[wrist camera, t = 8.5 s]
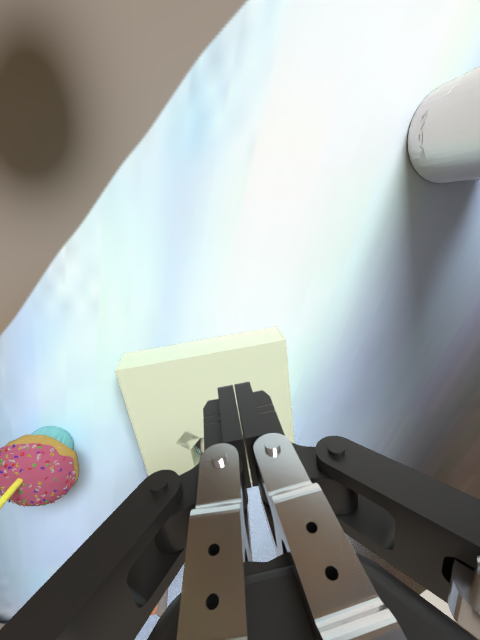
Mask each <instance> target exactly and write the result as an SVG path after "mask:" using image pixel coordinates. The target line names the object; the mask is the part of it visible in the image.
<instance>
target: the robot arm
mask: <svg viewBox="0 0 480 640" xmlns="http://www.w3.org/2000/svg"><path fill="white" fill-rule="evenodd" d="M408 152H409V157H410V161H411V163H412V165H413V167H414V169H415V170H416V171H417V173H418V174H419V175H420V176H422V177H423V178H424V179H426V180H428V181H431V182H434V183H447V182H456V181H465V180H476V179H480V66H479V67H477V68H475V69H473V70H471V71H469V72H467V73H465V74H463V75H461V76H459V77H457V78H455V79H453V80H451V81H449V82H447V83H445V84H443V85H441V86H440V87H438V88H436V89H435V90H433V91H432V92H431V93H430V94H429V95H428V96H427V97H426V98H425V99H424V100H423V102H422V103H421V104H420V106H419V107H418V109H417V111H416V113H415V115H414V117H413V119H412V122H411V125H410V128H409V135H408ZM234 387H235V393H236V399H237V404H236V399H235V393H234V388H233V385H228V386H223V387H218V388H217V389H218V399H214V400H209V401H207V403H206V405H205V406H204V408H203V418H204V419H203V423H204V452H203V454H202V455H201V458H200V462H199V463H198V464H197V465H196V466H195V467H194V468H192V469H191V470H189V471H187V472H185V473H183V474H181V475H178V474H177V473H176V472H175V471H172V470H160V471H157V472H154V473H153V474H151V475H149V476H148V477H147V478H146V479H145V480H144V481H143V482H142V483H141V484H140V485H139V486H138V487H137V488H136V489H135V490H134V491H133V492H132V493H131V494H130V495H129V496H128V497H127V498H126V499H125V501H124V502H123V503H122V504H121V505H120V506H119V507H118V508H117V509H116V510H115V511H114V512H113V513H112V514H111V515H110V516H109V517H108V518H107V519H106V520H105V521H104V522H103V523H102V524H101V526H100V527H99V528H98V529H97V530H96V531H95V532H94V533H93V534H92V535H91V536H90V537H89V538H88V539H87V540H86V541H85V542H84V543H83V544H82V545H81V546H80V547H79V548H78V549H77V550H76V552H75V553H74V554H73V555H72V556H71V557H70V558H69V559H68V560H67V561H66V562H65V563H64V564H63V565H62V566H61V567H60V568H59V569H58V570H57V571H56V572H55V573H54V574H53V575H52V576H51V578H50V579H49V580H48V581H47V582H46V583H45V584H44V585H43V586H42V587H41V588H40V589H39V590H38V591H37V592H36V593H35V594H34V595H33V596H32V597H31V598H30V599H29V600H28V601H27V603H26V604H25V605H24V606H23V607H22V608H21V609H20V610H19V611H18V612H17V613H16V614H15V615H14V616H13V617H12V618H11V619H10V620H9V621H8V622H7V623H6V624H5V625H4V626H3V627H2V629H1V630H0V640H134V639H135V638H136V636H137V634H138V633H139V631H140V630H141V628H142V627H143V625H144V624H145V622H146V621H147V619H148V618H149V616H150V615H151V613H152V612H153V610H154V608H155V607H156V605H157V604H158V602H159V601H160V599H161V598H162V596H163V595H164V593H165V592H166V590H167V589H168V587H169V586H170V584H171V582H172V581H173V579H174V578H175V576H176V575H177V573H178V572H179V570H180V569H181V567H182V566H183V564H184V563H185V564H184V574H183V583H182V592H181V593H180V594H179V595H178V596H177V597H176V598H175V599H174V600H173V601H172V603H171V604H170V605H169V606H168V607H167V609H166V610H165V611H164V613H163V614H162V616H161V617H160V619H159V620H158V622H157V624H156V625H155V627H154V629H153V631H152V632H151V634H150V636H149V637H148V639H147V640H480V500H479V499H477V498H475V497H473V496H471V495H468V494H466V493H464V492H462V491H460V490H457V489H455V488H453V487H451V486H449V485H447V484H444V483H442V482H440V481H438V480H436V479H433V478H431V477H429V476H427V475H425V474H422V473H420V472H418V471H416V470H414V469H411V468H409V467H407V466H405V465H403V464H401V463H398V462H396V461H394V460H392V459H390V458H387V457H385V456H383V455H381V454H379V453H376V452H374V451H372V450H370V449H368V448H365V447H363V446H361V445H359V444H357V443H355V442H352V441H350V440H348V439H346V438H343V437H339V436H328V437H325V438H323V439H321V440H320V441H319V442H318V443H317V445H316V447H305V446H299V445H296V444H294V443H292V442H291V441H290V440H289V439H288V438H287V437H286V436H285V434H284V432H283V429H282V426H281V424H280V421H279V419H278V416H277V413H276V411H275V408H274V405H273V403H272V400H271V398H270V396H269V395H268V394H267V393H266V392H265V391H263V390H261V391H256V392H253V391H252V388H251V385H250V382H244V383H239V384H234ZM237 405H238V409H237ZM238 411H239V414H238ZM239 417H240V419H239ZM240 422H241V424H240ZM241 428H242V429H241ZM242 433H243V435H242ZM243 438H244V440H243ZM244 443H245V446H244ZM245 448H246V452H245ZM246 453H247V458H248V463H249V468H250V474H251V479H252V484H253V487H254V486H259V490H260V495H261V502H262V507H263V510H264V514H265V517H266V520H267V524H268V527H269V530H270V534H271V537H272V540H273V544H274V547H275V550H276V554H277V557H276V558H275V559H273V560H271V561H269V562H253V561H252V549H251V537H250V525H249V513H248V506H247V504H248V495H247V489H246V488H250V487H251V482H250V476H249V470H248V464H247V458H246ZM345 533H346V534H347V535H349V536H350V537H351V538H353V539H354V540H356V541H357V542H359V543H360V544H362V545H363V546H365V547H366V548H368V549H369V550H370V551H372V552H373V553H375V554H376V555H378V556H379V557H381V558H382V559H384V560H385V561H387V562H388V563H390V564H391V565H392V566H394V567H395V568H397V569H398V570H400V571H401V572H403V573H404V574H406V575H407V576H409V577H410V578H411V579H413V580H414V581H416V582H417V583H419V584H420V585H422V586H423V587H425V588H426V589H428V590H429V591H431V592H432V593H433V594H435V595H436V596H438V597H439V598H441V599H442V600H444V601H445V602H447V603H448V605H449V608H450V611H451V613H452V615H453V617H454V619H455V620H456V622H457V623H456V622H455V621H453V620H452V619H451V618H449V617H448V616H447V615H445V614H444V613H443V612H441V611H440V610H438V609H437V608H436V607H435V606H433V605H432V604H431V603H429V602H428V601H426V600H425V599H424V598H423V597H421V596H420V595H419V594H417V593H416V592H415V591H413V590H412V589H410V588H409V587H408V586H406V585H405V584H404V583H402V582H401V581H400V580H398V579H397V578H396V577H394V576H393V575H392V574H390V573H389V572H388V571H386V570H385V569H384V568H382V567H381V566H379V565H378V564H377V563H375V562H373V561H372V560H370V559H368V558H366V557H364V556H362V555H360V554H357V553H355V551H354V549H353V548H352V546H351V544H350V542H349V540H348V538H347V536H346V534H345Z"/></svg>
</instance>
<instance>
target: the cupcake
mask: <svg viewBox="0 0 480 640" xmlns="http://www.w3.org/2000/svg"><path fill="white" fill-rule="evenodd" d="M78 475H79V465H78V459H77V454H76V452H75V451H74V450H73V439H72V437H71V435H70V434H69V433H68V432H67V431H66V430H64V429H62V428H59V427H55V426H46V427H42V428H40V429H38V430H36V431H35V432H34V433H32V434H31V435H24V436H22V437H20V438H18V439H16V440H13V441H11V442H9V443H8V444H7V445H6V446H4V447H2V448H0V495H1V498H0V509H1V507H2V506H3V505H4V504H5V503H6V502H7V501H9V503H10V501H11V502H12V503H16V504H18V505H23V506H24V507H25V506H40V505H46V504H49V503H53V502H54V501H55V500H57V499H59V498H61V497H62V496H64V495H65V494H66V493H67V492H68V491H69V490H70V488H71V487H72V486H73V485H74V484H75V483H76V481H77V479H78ZM54 503H55V502H54Z"/></svg>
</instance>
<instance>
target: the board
mask: <svg viewBox="0 0 480 640" xmlns="http://www.w3.org/2000/svg"><path fill="white" fill-rule="evenodd" d="M115 372H116V375H117V378H118V381H119V385H120V388H121V391H122V394H123V397H124V401H125V404H126V407H127V410H128V413H129V417H130V420H131V423H132V426H133V429H134V432H135V436H136V439H137V442H138V445H139V448H140V452H141V455H142V458H143V461H144V464H145V468H146V471H147V474H148V476H149V475H151V474H153V473H154V472H157V471H160V470H172V471H175V472H176V473H177V474H178V475H181V474H183V473H185V472H187V471H189V470H191V469H192V468H194V467H195V466H196V465H197V464H198V463H199V462H200V458H201V454H199V453H196V448H195V444H196V445H197V446H198V448H199V449H200V450H201V447H200V442H201V438H204V423H203V419H204V418H203V408H204V406H205V405H206V403H207V401H209V400H214V399H218V389H217V388H218V387H223V386H228V385H233V388H234V393H235V387H234V384H239V383H244V382H250V385H251V388H252V391H253V392H256V391H261V390H263V391H265V392H266V393H267V394H268V395H269V396H270V398H271V400H272V403H273V405H274V408H275V411H276V413H277V416H278V419H279V421H280V424H281V426H282V429H283V432H284V434H285V436H286V437H287V438H288V439H289V440H290V441H291V442H292V443H294V431H293V420H292V408H291V396H290V384H289V372H288V360H287V348H286V339H285V338H284V337H283V335H282V334H281V332H280V331H279V329H278V328H277V327H271V328H265V329H260V330H254V331H248V332H243V333H237V334H231V335H226V336H220V337H214V338H209V339H203V340H197V341H192V342H186V343H180V344H174V345H169V346H163V347H157V348H152V349H146V350H140V351H135V352H129V353H123V356H122V358H121V360H120V362H119V364H118V366H117V368H116V370H115ZM235 399H236V393H235ZM236 404H237V399H236ZM237 409H238V405H237ZM238 414H239V411H238ZM239 419H240V417H239ZM240 424H241V422H240ZM241 429H242V428H241ZM242 435H243V433H242ZM243 439H244V438H243ZM294 444H295V443H294ZM244 446H245V445H244ZM245 452H246V448H245ZM246 458H247V453H246ZM247 464H248V470H249V476H250V482H251V483H252V479H251V474H250V468H249V463H248V458H247ZM167 596H168V589H167V590H166V592H165V593H164V595H163V596H162V598H161V599H160V601H159V602H158V604H157V605H156V607H155V608H154V610H153V612H152V613H151V615H154V614H157V616H159V617H161V616H162V614H163V613H164V611H165V610H166V609H167Z"/></svg>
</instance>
